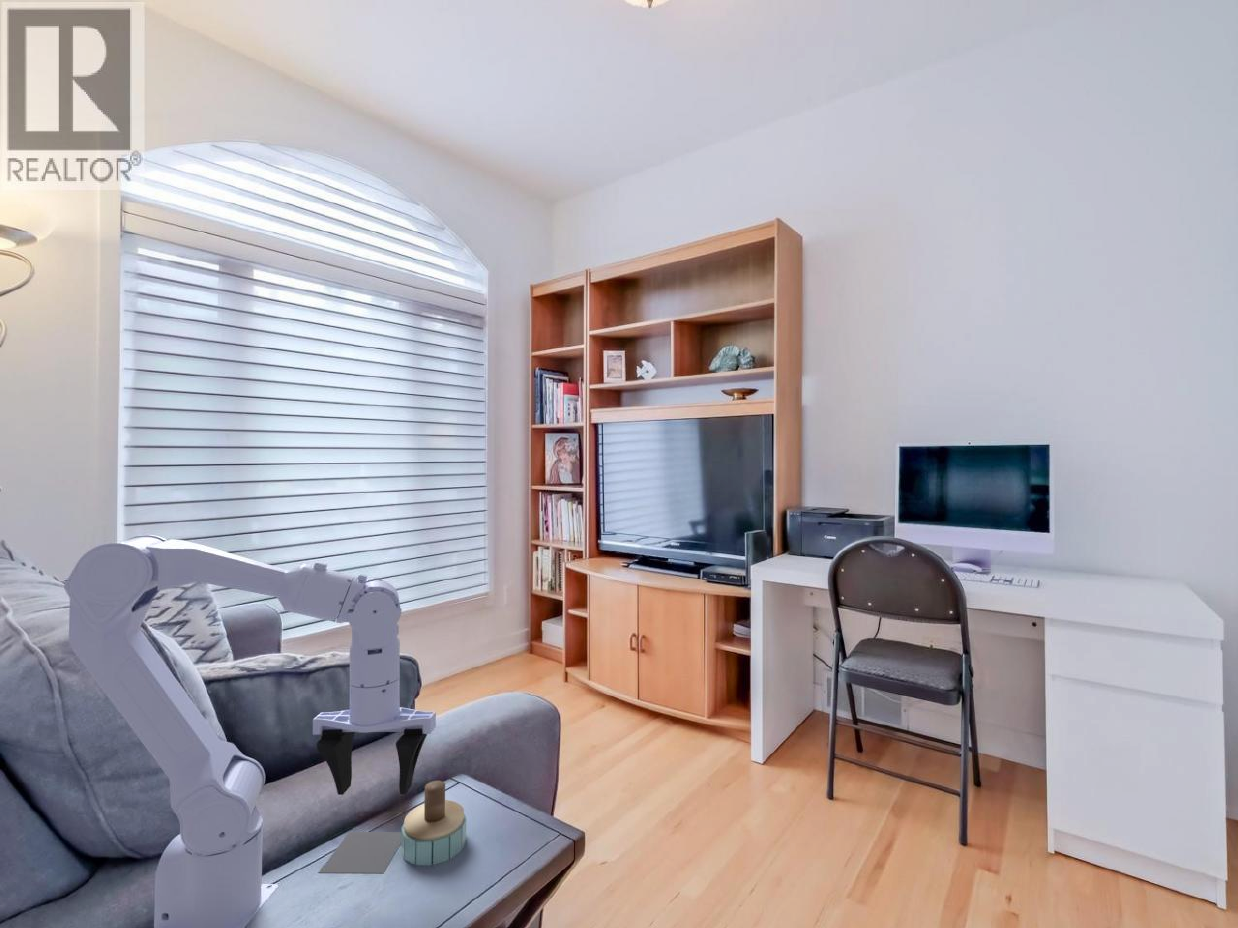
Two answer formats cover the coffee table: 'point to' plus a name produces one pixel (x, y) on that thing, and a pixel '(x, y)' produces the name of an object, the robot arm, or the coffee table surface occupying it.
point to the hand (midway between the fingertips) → (375, 789)
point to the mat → (363, 853)
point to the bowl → (433, 847)
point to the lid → (434, 815)
